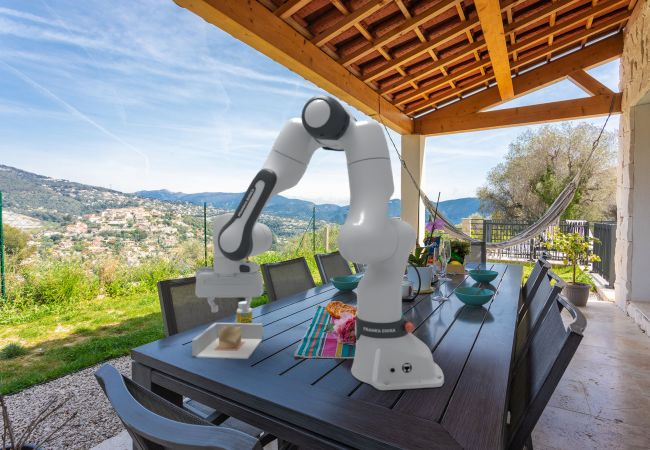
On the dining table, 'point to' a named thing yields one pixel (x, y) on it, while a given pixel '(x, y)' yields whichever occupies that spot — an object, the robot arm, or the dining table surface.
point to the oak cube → (229, 337)
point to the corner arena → (209, 348)
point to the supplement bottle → (244, 314)
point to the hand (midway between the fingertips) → (230, 311)
